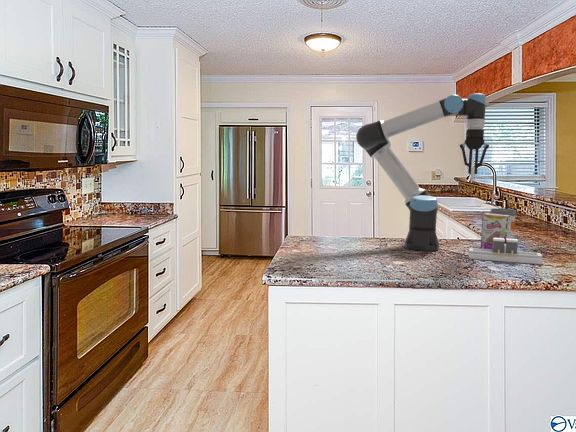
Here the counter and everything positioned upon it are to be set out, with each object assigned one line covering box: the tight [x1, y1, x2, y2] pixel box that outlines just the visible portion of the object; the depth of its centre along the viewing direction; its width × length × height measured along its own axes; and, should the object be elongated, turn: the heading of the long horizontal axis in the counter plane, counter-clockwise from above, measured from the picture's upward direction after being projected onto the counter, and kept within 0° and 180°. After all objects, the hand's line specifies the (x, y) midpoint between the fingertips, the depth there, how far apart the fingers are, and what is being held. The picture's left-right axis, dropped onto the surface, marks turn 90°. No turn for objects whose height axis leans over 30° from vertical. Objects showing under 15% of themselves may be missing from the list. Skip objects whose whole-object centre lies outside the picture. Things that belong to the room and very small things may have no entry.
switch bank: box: [468, 244, 544, 265], centre depth 205 cm, size 27×10×6 cm, turn 71°
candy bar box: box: [479, 212, 512, 250], centre depth 223 cm, size 11×5×16 cm, turn 47°
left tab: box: [492, 238, 505, 253], centre depth 205 cm, size 4×4×6 cm
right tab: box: [506, 238, 519, 254], centre depth 204 cm, size 4×4×6 cm
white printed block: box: [490, 208, 517, 239], centre depth 263 cm, size 13×13×15 cm
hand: (472, 181), depth 230 cm, fingers closed
